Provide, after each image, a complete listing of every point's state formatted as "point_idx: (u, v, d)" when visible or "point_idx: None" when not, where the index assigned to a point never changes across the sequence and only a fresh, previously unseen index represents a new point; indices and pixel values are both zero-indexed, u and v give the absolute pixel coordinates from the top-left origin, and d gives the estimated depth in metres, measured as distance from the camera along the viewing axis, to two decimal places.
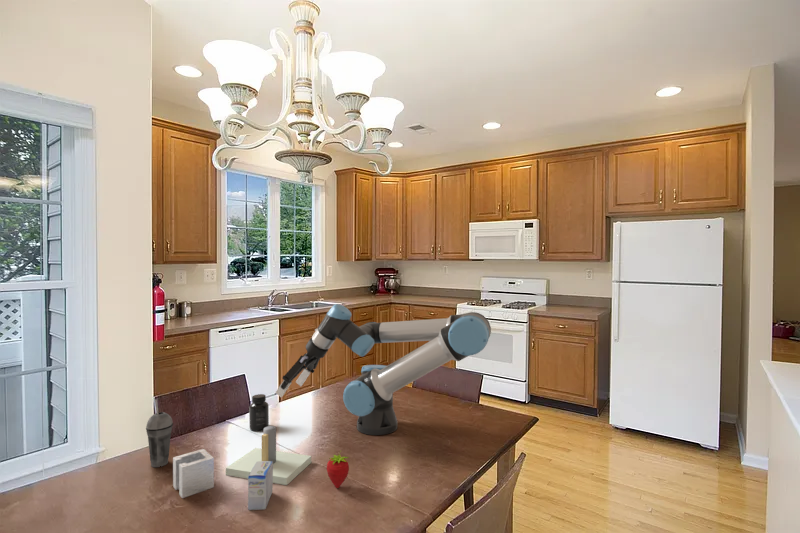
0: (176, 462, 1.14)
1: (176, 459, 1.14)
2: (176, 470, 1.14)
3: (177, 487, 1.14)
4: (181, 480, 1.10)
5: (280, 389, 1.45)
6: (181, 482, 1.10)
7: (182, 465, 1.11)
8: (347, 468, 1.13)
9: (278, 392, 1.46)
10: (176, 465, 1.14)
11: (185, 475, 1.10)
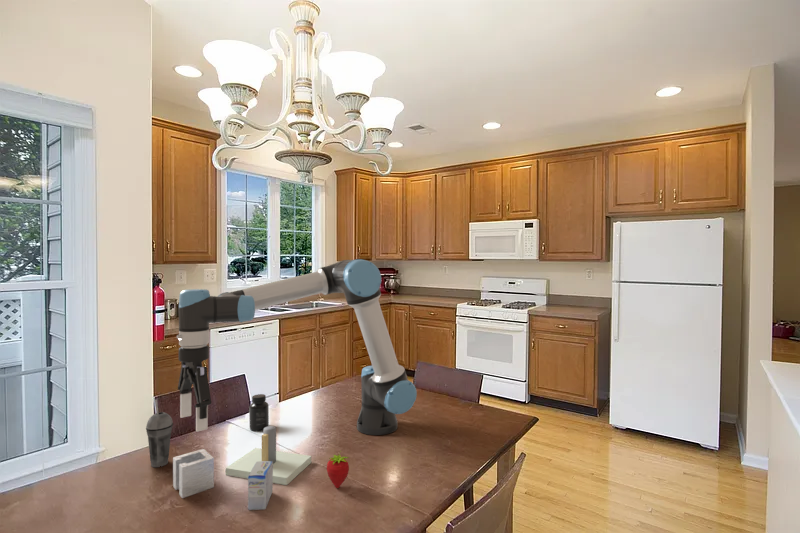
0: (176, 462, 1.14)
1: (176, 459, 1.14)
2: (176, 470, 1.14)
3: (177, 487, 1.14)
4: (181, 480, 1.10)
5: (200, 422, 1.10)
6: (181, 482, 1.10)
7: (182, 465, 1.11)
8: (347, 468, 1.13)
9: (200, 428, 1.10)
10: (176, 465, 1.14)
11: (185, 475, 1.10)
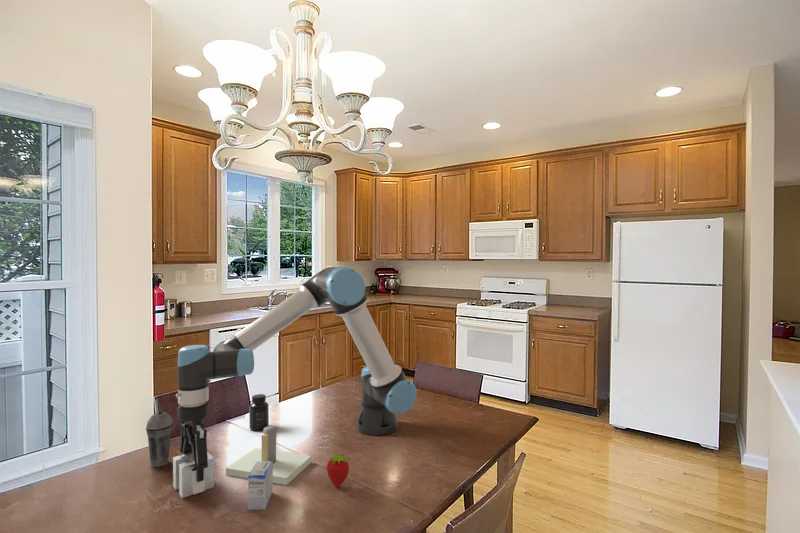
0: (176, 462, 1.14)
1: (176, 459, 1.14)
2: (175, 470, 1.14)
3: (177, 487, 1.14)
4: (181, 480, 1.10)
5: (197, 485, 1.11)
6: (181, 482, 1.10)
7: (182, 465, 1.11)
8: (347, 468, 1.13)
9: (197, 490, 1.11)
10: (176, 465, 1.14)
11: (185, 475, 1.10)
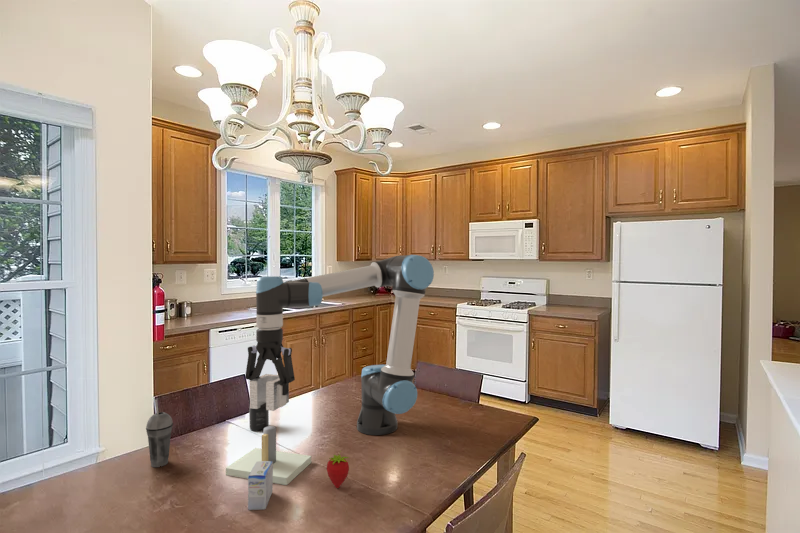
0: (257, 383, 1.22)
1: (256, 381, 1.23)
2: (257, 390, 1.22)
3: (258, 406, 1.22)
4: (271, 395, 1.21)
5: (282, 399, 1.24)
6: (271, 397, 1.21)
7: (271, 382, 1.21)
8: (347, 468, 1.13)
9: (282, 403, 1.24)
10: (257, 385, 1.22)
11: (275, 390, 1.21)
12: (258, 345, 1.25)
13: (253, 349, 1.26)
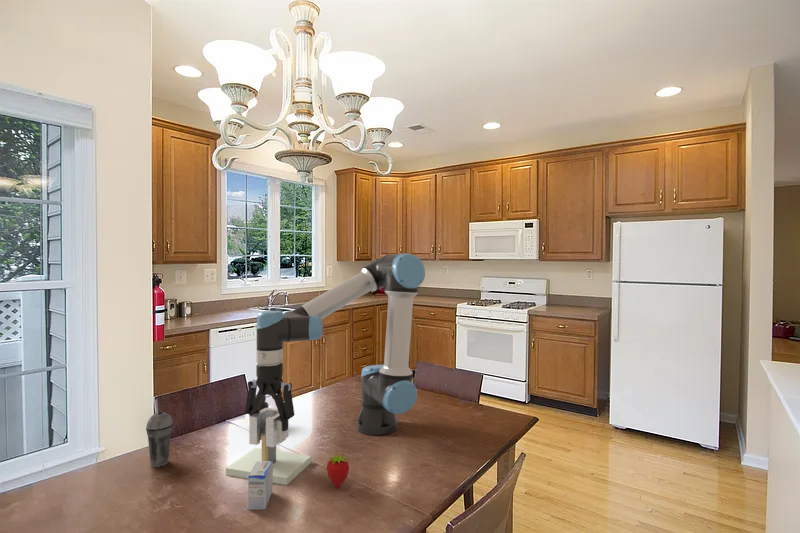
0: (257, 419, 1.22)
1: (255, 416, 1.23)
2: (257, 426, 1.22)
3: (257, 442, 1.22)
4: (270, 431, 1.21)
5: (282, 434, 1.24)
6: (271, 433, 1.21)
7: (270, 418, 1.21)
8: (347, 468, 1.13)
9: (282, 439, 1.24)
10: (257, 421, 1.22)
11: (275, 426, 1.21)
12: (258, 380, 1.25)
13: (253, 384, 1.26)
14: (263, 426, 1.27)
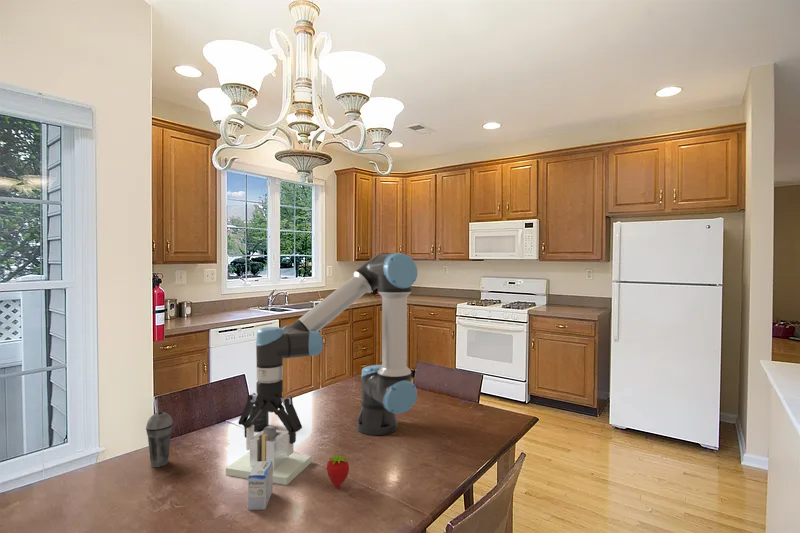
0: (257, 441, 1.22)
1: (256, 439, 1.23)
2: (257, 449, 1.22)
3: None
4: (271, 454, 1.21)
5: (290, 447, 1.23)
6: (271, 456, 1.21)
7: (271, 440, 1.21)
8: (347, 468, 1.13)
9: (290, 452, 1.23)
10: (257, 444, 1.22)
11: (275, 449, 1.21)
12: (259, 397, 1.25)
13: (253, 398, 1.27)
14: None
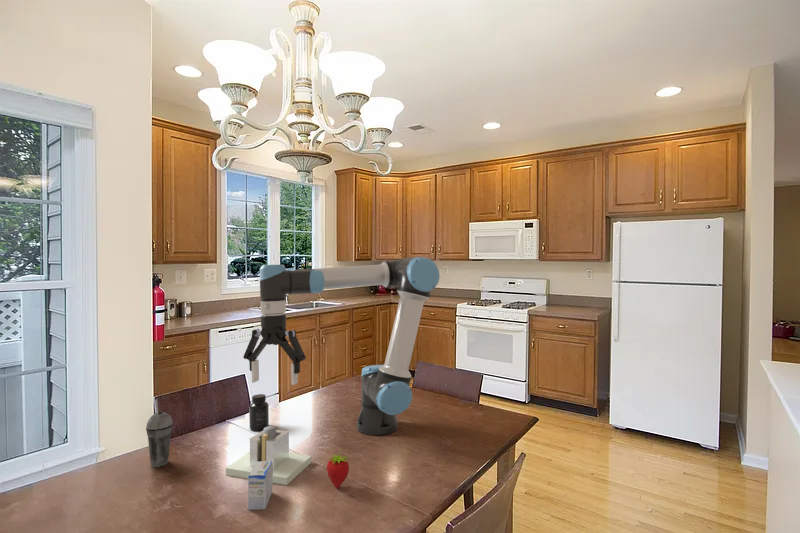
0: (257, 441, 1.22)
1: (256, 439, 1.23)
2: (257, 449, 1.22)
3: None
4: (271, 454, 1.21)
5: (294, 377, 1.28)
6: (271, 456, 1.21)
7: (271, 440, 1.21)
8: (347, 468, 1.13)
9: (294, 381, 1.28)
10: (257, 444, 1.22)
11: (275, 449, 1.21)
12: (263, 331, 1.30)
13: (257, 333, 1.31)
14: None
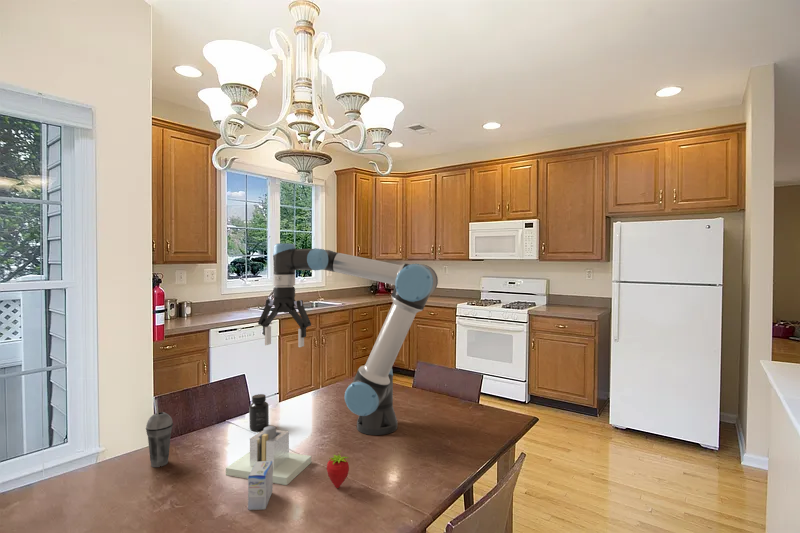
0: (257, 441, 1.22)
1: (256, 439, 1.23)
2: (257, 449, 1.22)
3: None
4: (271, 454, 1.21)
5: (301, 340, 1.49)
6: (271, 456, 1.21)
7: (271, 440, 1.21)
8: (347, 468, 1.13)
9: (301, 344, 1.49)
10: (257, 444, 1.22)
11: (275, 449, 1.21)
12: (275, 300, 1.51)
13: (270, 302, 1.52)
14: None
